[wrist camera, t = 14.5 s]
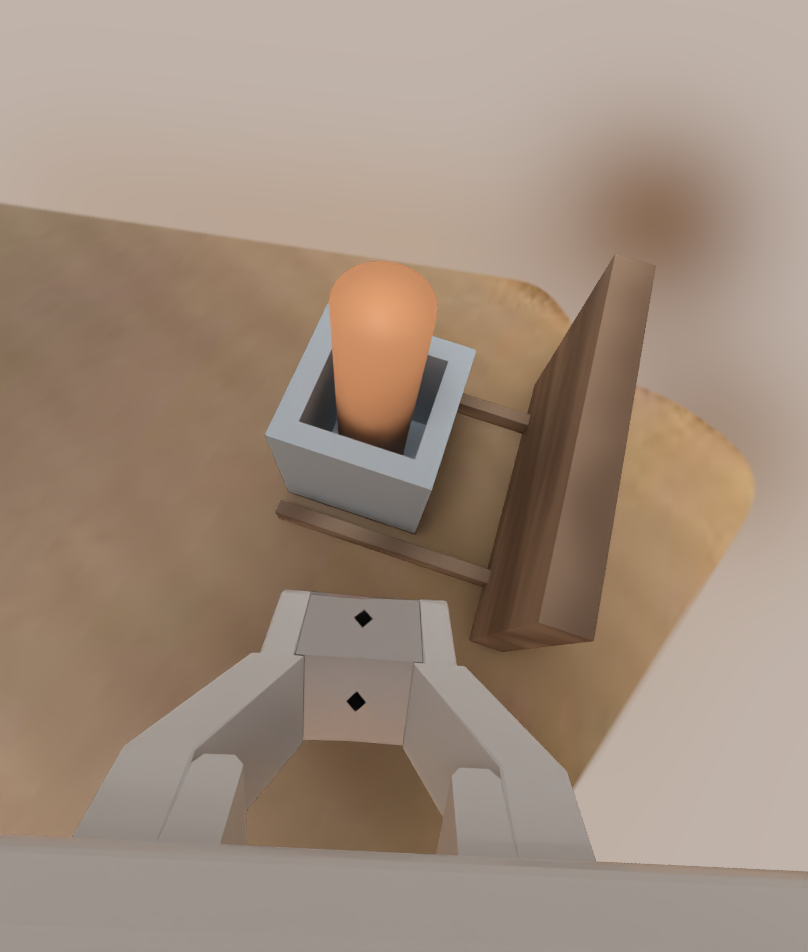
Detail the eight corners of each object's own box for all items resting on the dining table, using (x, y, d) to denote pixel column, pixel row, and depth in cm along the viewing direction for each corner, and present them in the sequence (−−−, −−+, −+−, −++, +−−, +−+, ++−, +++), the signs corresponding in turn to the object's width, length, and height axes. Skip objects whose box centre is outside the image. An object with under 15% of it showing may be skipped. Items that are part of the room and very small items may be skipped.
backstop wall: (257, 567, 29) (191, 505, 18) (360, 329, 36) (360, 175, 24) (502, 651, 28) (593, 640, 17) (562, 393, 35) (655, 265, 24)
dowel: (329, 467, 31) (312, 329, 18) (352, 413, 32) (351, 247, 19) (391, 489, 31) (418, 366, 18) (411, 433, 32) (451, 281, 19)
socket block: (288, 491, 31) (264, 435, 23) (335, 383, 34) (328, 302, 26) (414, 533, 30) (431, 490, 23) (451, 420, 33) (476, 349, 26)
